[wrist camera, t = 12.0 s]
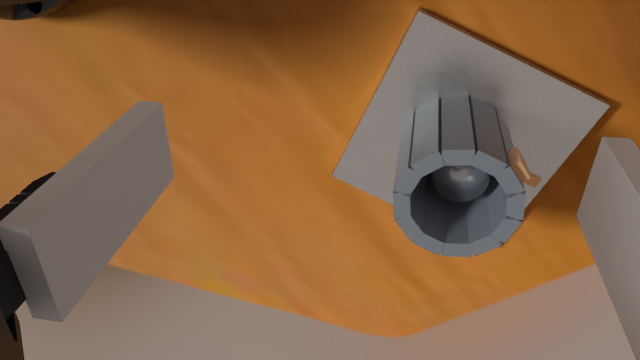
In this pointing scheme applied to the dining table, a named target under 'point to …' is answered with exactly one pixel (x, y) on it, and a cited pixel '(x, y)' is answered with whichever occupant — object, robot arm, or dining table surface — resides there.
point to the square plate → (473, 81)
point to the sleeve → (458, 150)
